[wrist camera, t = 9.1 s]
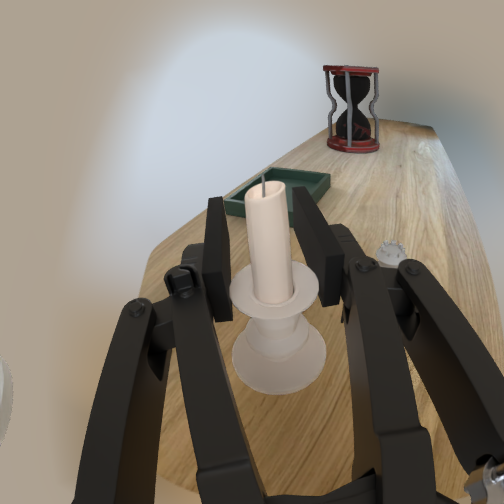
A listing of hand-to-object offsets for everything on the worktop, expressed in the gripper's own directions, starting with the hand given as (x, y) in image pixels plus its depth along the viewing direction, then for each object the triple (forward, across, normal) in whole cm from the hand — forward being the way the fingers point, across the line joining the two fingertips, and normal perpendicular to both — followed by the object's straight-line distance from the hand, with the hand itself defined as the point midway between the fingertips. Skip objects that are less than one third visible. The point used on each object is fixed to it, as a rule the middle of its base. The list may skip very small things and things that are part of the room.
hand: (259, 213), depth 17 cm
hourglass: (+67, +34, -17) cm, 77 cm away
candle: (-5, 0, -6) cm, 8 cm away
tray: (+35, +6, -16) cm, 40 cm away
